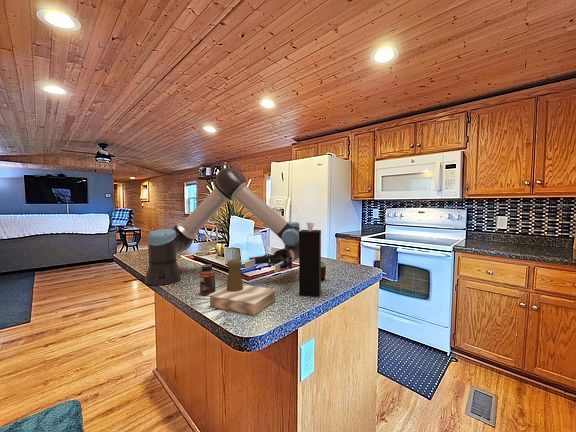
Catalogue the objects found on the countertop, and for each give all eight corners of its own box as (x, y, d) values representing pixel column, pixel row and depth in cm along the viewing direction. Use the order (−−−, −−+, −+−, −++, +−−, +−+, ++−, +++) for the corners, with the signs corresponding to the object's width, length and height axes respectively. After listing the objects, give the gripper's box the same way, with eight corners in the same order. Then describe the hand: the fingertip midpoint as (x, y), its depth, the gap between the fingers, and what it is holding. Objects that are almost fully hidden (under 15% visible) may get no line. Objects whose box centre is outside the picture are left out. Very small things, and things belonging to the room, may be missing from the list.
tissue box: (319, 297, 100) (319, 223, 98) (298, 295, 101) (298, 223, 100) (321, 290, 107) (321, 221, 106) (301, 289, 109) (301, 221, 108)
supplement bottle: (216, 290, 108) (215, 263, 108) (214, 295, 102) (214, 266, 102) (201, 291, 107) (200, 263, 107) (198, 296, 101) (198, 267, 101)
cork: (241, 291, 94) (241, 261, 94) (224, 291, 94) (224, 261, 94) (244, 286, 101) (243, 257, 100) (228, 286, 100) (227, 257, 100)
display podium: (207, 306, 91) (207, 295, 91) (234, 293, 105) (234, 283, 105) (254, 316, 83) (254, 303, 83) (276, 300, 97) (276, 289, 97)
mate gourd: (326, 278, 125) (326, 246, 124) (325, 282, 117) (325, 249, 117) (310, 277, 127) (310, 246, 126) (308, 282, 119) (308, 249, 118)
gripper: (308, 267, 118) (288, 280, 99) (260, 262, 129) (234, 272, 110) (308, 250, 118) (288, 260, 99) (260, 247, 128) (234, 255, 109)
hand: (260, 266), depth 104 cm, fingers open, 13 cm apart
